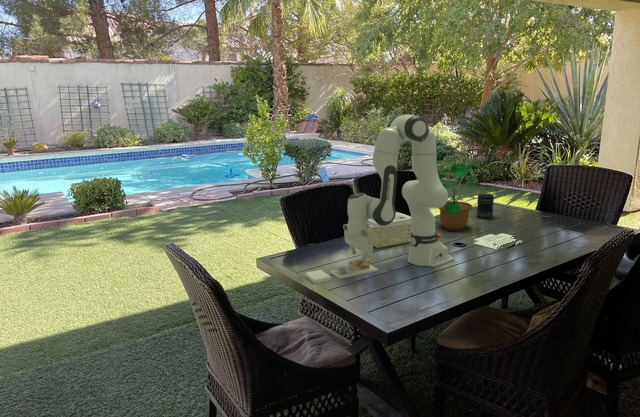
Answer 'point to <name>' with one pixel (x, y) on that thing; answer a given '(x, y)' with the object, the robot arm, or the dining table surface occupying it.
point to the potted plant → (455, 211)
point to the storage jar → (485, 206)
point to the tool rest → (355, 272)
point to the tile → (317, 276)
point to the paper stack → (495, 240)
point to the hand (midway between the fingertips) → (359, 257)
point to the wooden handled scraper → (354, 266)
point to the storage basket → (391, 231)
